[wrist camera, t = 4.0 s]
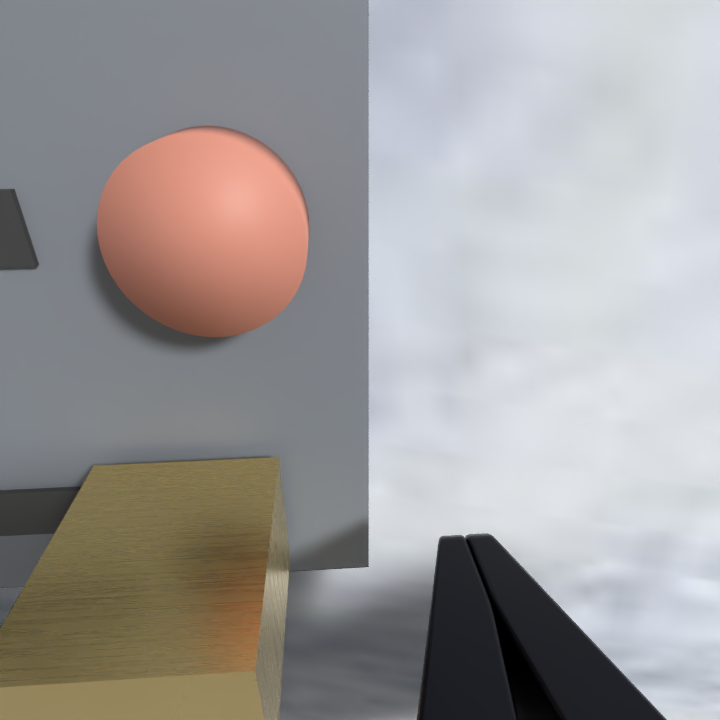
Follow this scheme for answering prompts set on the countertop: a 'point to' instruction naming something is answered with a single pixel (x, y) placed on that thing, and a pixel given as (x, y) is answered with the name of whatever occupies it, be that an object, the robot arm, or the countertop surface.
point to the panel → (184, 255)
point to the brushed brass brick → (156, 599)
